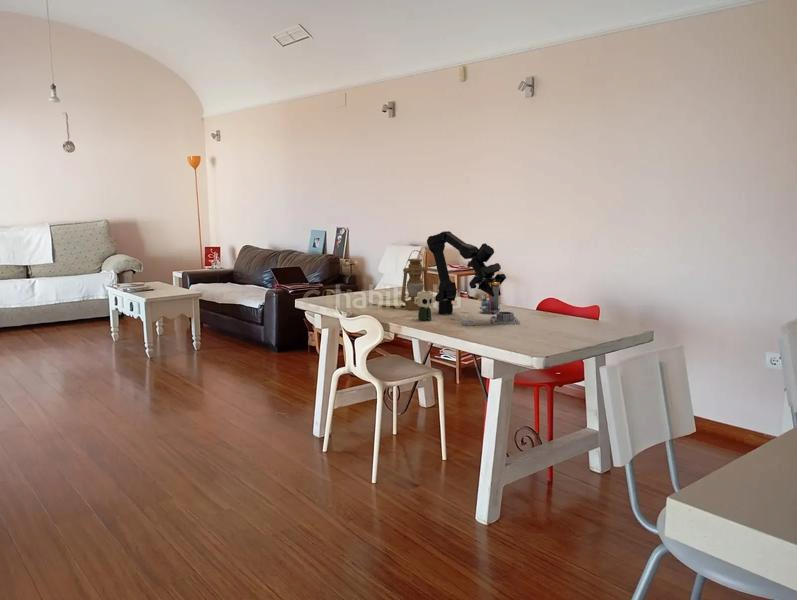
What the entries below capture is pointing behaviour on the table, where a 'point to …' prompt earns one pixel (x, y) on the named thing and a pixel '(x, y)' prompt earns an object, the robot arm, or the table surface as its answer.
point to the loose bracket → (467, 321)
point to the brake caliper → (487, 305)
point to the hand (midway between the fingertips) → (496, 295)
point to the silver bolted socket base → (504, 318)
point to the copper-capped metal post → (496, 294)
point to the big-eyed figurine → (424, 304)
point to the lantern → (414, 282)
